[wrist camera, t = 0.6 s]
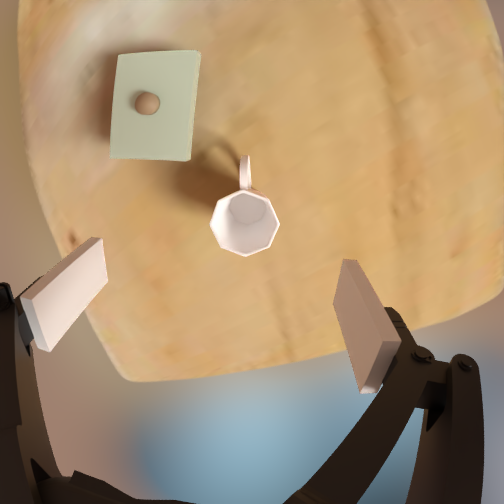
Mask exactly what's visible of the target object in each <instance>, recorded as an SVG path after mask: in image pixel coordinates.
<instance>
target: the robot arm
mask: <svg viewBox="0 0 504 504" xmlns="http://www.w3.org/2000/svg"><path fill="white" fill-rule="evenodd" d="M107 282H108V278H107V271H106V265H105V257H104V249H103V241H102V238H95V237H91V238H89V239H88V240H87V241H86V242H84V243H83V244H82V245H80V246H79V247H78V248H77V249H75V250H74V251H73V252H71V253H70V254H69V255H68V256H67V257H65V258H64V259H63V260H62V261H60V262H59V263H58V264H57V265H56V266H54V267H53V268H52V269H51V270H50V271H48V272H47V273H46V274H45V275H43V276H41V277H39V278H38V279H37V280H35V281H34V282H33V284H31V285H30V286H29V287H28V288H26V289H25V290H24V291H23V292H22V293H21V294H20V295H19V296H17V297H16V298H15V299H14V298H13V295H12V291H11V288H10V285H9V284H8V283H5V282H2V283H0V504H194V503H189V502H183V501H177V500H141V499H135V498H132V497H131V496H129V495H127V494H125V493H123V492H122V491H120V490H118V489H116V488H114V487H113V486H111V485H110V484H108V483H106V482H105V481H102V480H99V479H97V478H94V477H91V476H88V475H86V474H83V473H81V472H78V471H74V473H73V475H72V477H64V476H62V475H61V473H60V471H59V469H58V467H57V465H56V462H55V458H54V455H53V452H52V448H51V445H50V441H49V437H48V434H47V430H46V426H45V421H44V417H43V413H42V408H41V403H40V398H39V392H38V387H37V381H36V374H35V367H34V359H33V350H32V347H31V345H30V342H31V341H32V339H35V342H36V344H37V347H38V348H39V349H42V350H45V351H48V352H51V350H52V349H53V347H54V346H55V345H56V344H57V342H58V341H59V340H60V339H61V337H62V336H63V335H64V334H65V332H66V331H67V330H68V328H69V327H70V326H71V325H72V323H73V322H74V321H75V320H76V319H77V317H78V316H79V315H80V314H81V312H82V311H83V310H84V309H85V308H86V306H87V305H88V304H89V303H90V302H91V300H92V299H93V298H94V297H95V296H96V295H97V293H98V292H99V291H100V290H101V289H102V288H103V286H104V285H105V284H106V283H107ZM333 305H334V308H335V311H336V315H337V318H338V321H339V324H340V327H341V330H342V334H343V337H344V340H345V343H346V347H347V350H348V353H349V357H350V360H351V363H352V367H353V371H354V374H355V378H356V381H357V385H358V388H359V392H360V393H361V394H362V393H377V392H378V390H379V388H380V386H381V384H382V383H383V387H382V388H381V390H380V391H379V393H378V394H377V395H376V397H375V399H374V400H373V401H372V403H371V404H370V406H369V407H368V408H367V410H366V411H365V413H364V414H363V415H362V417H361V418H360V420H359V421H358V422H357V423H356V425H355V426H354V428H353V429H352V430H351V432H350V433H349V434H348V435H347V436H346V438H345V439H344V440H343V442H342V443H341V444H340V445H339V446H338V448H337V449H336V450H335V451H334V453H333V454H332V455H331V456H330V457H329V458H328V460H327V461H326V462H325V463H324V464H323V465H322V466H321V468H320V469H319V470H318V471H317V472H316V473H315V474H314V475H313V476H312V477H311V479H310V480H309V481H308V482H307V483H306V484H305V485H304V486H303V487H302V488H301V489H299V490H297V491H296V492H295V493H294V494H292V495H291V497H289V498H288V499H287V500H286V501H285V502H284V503H283V504H357V502H358V501H359V499H360V498H361V497H362V495H363V494H364V493H365V491H366V489H367V488H368V487H369V485H370V484H371V482H372V481H373V480H374V478H375V477H376V475H377V473H378V472H379V470H380V469H381V467H382V466H383V464H384V463H385V461H386V459H387V458H388V456H389V454H390V453H391V451H392V449H393V447H394V446H395V444H396V442H397V441H398V439H399V437H400V435H401V433H402V432H403V430H404V428H405V426H406V424H407V422H408V420H409V418H410V416H411V414H412V412H413V410H414V408H421V409H424V415H423V423H422V429H421V435H420V441H419V447H418V452H417V458H416V463H415V467H414V472H413V476H412V480H411V485H410V489H409V492H408V497H407V500H406V503H405V504H481V497H482V486H483V471H484V419H483V403H482V391H481V382H480V374H479V367H478V365H477V363H476V362H475V361H474V359H473V358H471V357H469V356H467V355H465V354H457V355H455V356H454V357H453V358H452V360H451V362H450V363H448V362H442V361H437V360H435V358H434V355H433V354H432V353H431V352H430V351H429V350H428V349H426V348H424V347H421V346H418V345H417V344H416V342H415V340H414V338H413V337H412V335H411V333H410V331H409V330H408V328H407V326H406V324H405V323H404V322H403V319H402V318H401V316H400V314H399V313H398V312H397V311H395V310H394V309H393V308H392V307H383V305H382V303H381V301H380V300H379V298H378V296H377V294H376V293H375V291H374V289H373V287H372V286H371V284H370V282H369V280H368V279H367V277H366V275H365V273H364V272H363V270H362V268H361V267H360V265H359V263H358V262H357V260H349V259H343V262H342V266H341V271H340V276H339V280H338V284H337V289H336V293H335V297H334V301H333Z"/></svg>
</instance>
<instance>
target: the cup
mask: <svg viewBox="0 0 504 504" xmlns="http://www.w3.org/2000/svg"><path fill="white" fill-rule="evenodd" d="M209 225H210V227H211V229H212V231H213V233H214V235H215V237H216V239H217V241H218V243H219V245H220V247H221V248H223V249H226V250H228V251H231V252H234V253H236V254H239V255H242V256H244V257H246V256H249V255H251V254H254V253H256V252H259V251H261V250H264V249H267V248H269V247H270V245H271V243H272V240H273V238H274V236H275V234H276V231H277V229H278V227H279V225H280V223H279V221H278V219H277V216H276V214H275V212H274V209H273V207H272V205H271V203H270V200H269V199H268V198H267V197H266V196H265V194H262V193H261V192H259V191H257V190H254V189H251V173H250V159H249V155H242V156H241V159H240V190H239V191H236V192H234V193H232V194H229V195H227V196H226V197H224V198H222V199H220V200H218V202H217V204H216V207H215V210H214V213H213V216H212V218H211V221H210V224H209Z"/></svg>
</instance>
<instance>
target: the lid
mask: <svg viewBox="0 0 504 504" xmlns="http://www.w3.org/2000/svg"><path fill="white" fill-rule="evenodd" d="M200 61H201V53H200V52H199V51H198V50H173V51H153V52H140V53H129V54H120V55H118V61H117V68H116V76H115V85H114V94H113V105H112V118H111V135H110V159H149V160H171V161H188V160H190V159H191V148H192V135H193V124H194V114H195V104H196V94H197V85H198V77H199V69H200Z"/></svg>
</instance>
